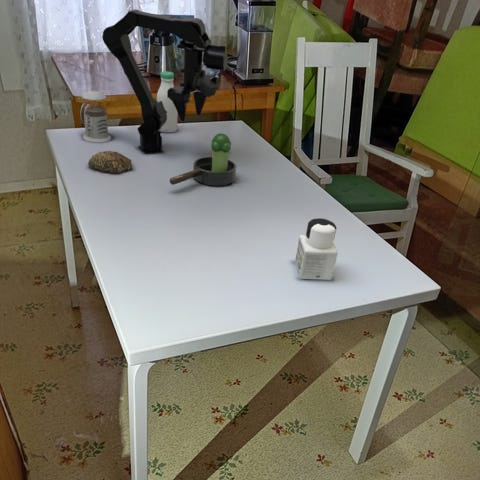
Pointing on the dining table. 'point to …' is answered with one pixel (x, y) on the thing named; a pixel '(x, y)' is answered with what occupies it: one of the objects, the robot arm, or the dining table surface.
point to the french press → (99, 123)
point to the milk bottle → (167, 102)
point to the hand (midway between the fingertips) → (190, 117)
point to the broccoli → (220, 152)
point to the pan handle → (186, 176)
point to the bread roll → (110, 162)
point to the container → (317, 250)
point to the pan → (214, 177)
